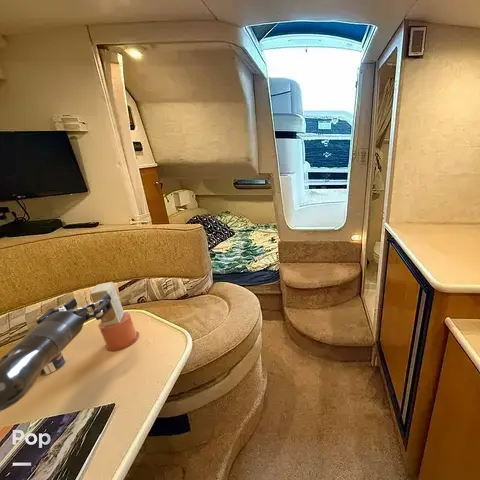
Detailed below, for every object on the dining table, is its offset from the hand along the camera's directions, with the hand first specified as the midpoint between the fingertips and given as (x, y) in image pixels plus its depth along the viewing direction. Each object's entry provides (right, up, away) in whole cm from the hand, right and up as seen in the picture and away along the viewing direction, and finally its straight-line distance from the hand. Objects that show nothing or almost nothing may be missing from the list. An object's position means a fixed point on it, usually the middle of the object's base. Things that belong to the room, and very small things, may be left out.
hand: (91, 299), depth 77 cm
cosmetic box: (0, -9, +9) cm, 13 cm away
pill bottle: (-14, -21, +3) cm, 26 cm away
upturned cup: (0, -17, +12) cm, 21 cm away
